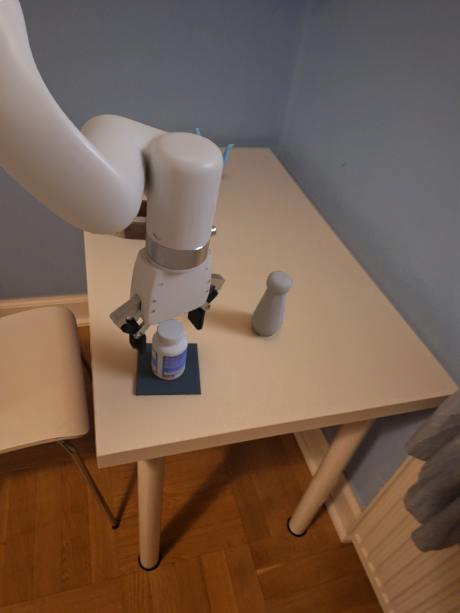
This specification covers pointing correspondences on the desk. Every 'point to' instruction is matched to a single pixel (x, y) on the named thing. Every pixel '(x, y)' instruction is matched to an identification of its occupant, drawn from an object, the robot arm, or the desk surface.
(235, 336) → the desk surface
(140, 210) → the caddy
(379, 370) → the desk surface
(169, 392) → the mat
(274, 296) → the salt shaker
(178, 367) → the pill bottle
